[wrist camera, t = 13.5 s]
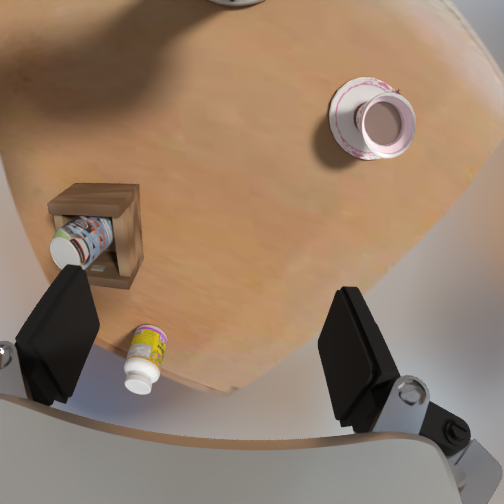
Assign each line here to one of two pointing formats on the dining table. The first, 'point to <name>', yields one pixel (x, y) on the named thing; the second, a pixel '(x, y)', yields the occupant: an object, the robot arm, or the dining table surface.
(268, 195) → the dining table surface
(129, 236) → the holder
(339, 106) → the teacup
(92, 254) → the beverage can
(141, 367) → the supplement bottle
